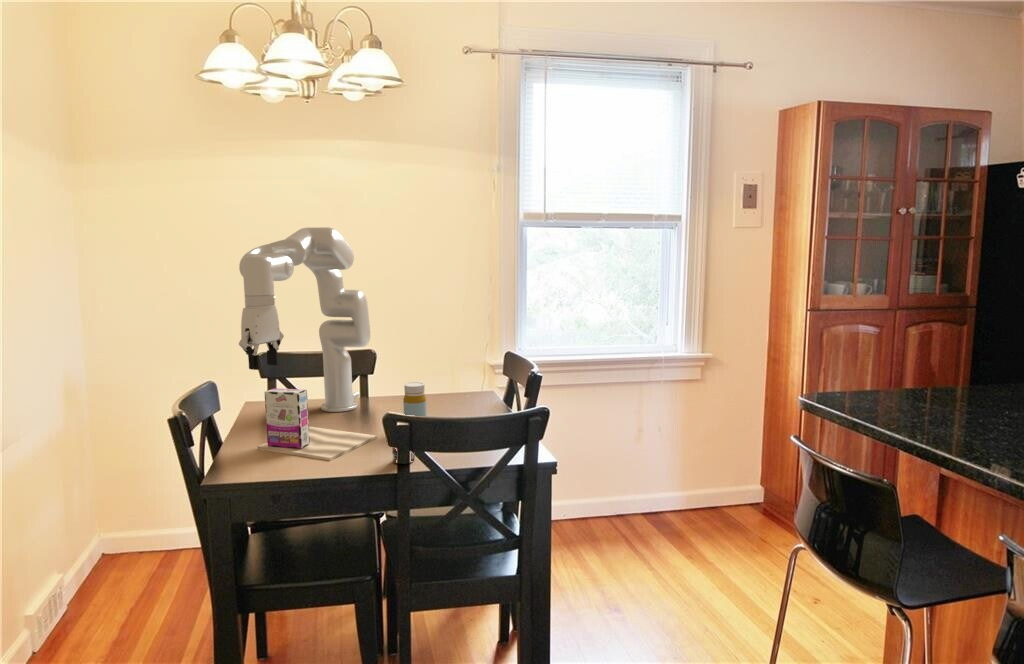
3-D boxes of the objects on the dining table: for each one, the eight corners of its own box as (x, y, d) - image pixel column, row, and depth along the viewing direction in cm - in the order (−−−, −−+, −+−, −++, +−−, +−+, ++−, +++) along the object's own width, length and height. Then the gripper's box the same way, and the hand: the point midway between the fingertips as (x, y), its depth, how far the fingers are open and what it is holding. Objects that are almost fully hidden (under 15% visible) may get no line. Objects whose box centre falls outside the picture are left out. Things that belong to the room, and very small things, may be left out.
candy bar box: (310, 444, 197) (308, 389, 194) (301, 449, 192) (298, 393, 189) (276, 441, 199) (273, 387, 197) (266, 446, 194) (263, 391, 192)
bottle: (428, 427, 215) (427, 381, 213) (425, 434, 208) (423, 386, 206) (406, 427, 216) (405, 381, 213) (402, 434, 209) (401, 386, 206)
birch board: (308, 428, 215) (308, 426, 215) (376, 438, 205) (376, 435, 205) (257, 449, 195) (257, 446, 195) (330, 460, 185) (330, 457, 185)
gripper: (271, 298, 191) (275, 360, 194) (224, 304, 175) (228, 372, 178) (292, 299, 188) (296, 362, 191) (246, 305, 172) (250, 374, 175)
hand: (263, 366), depth 184 cm, fingers open, 6 cm apart
